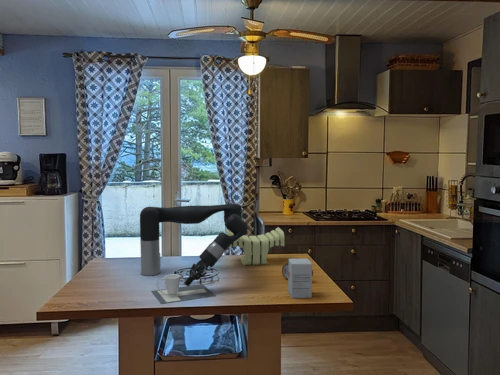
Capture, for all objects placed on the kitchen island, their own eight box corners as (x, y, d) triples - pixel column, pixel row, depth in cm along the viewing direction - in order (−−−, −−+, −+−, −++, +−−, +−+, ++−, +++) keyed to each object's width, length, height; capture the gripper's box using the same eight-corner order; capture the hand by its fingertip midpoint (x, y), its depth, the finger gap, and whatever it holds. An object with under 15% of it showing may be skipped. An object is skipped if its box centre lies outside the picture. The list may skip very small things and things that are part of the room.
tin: (313, 281, 220) (313, 264, 219) (311, 283, 217) (311, 265, 216) (283, 277, 226) (283, 260, 225) (281, 279, 223) (281, 262, 222)
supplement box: (287, 291, 204) (288, 258, 203) (307, 291, 205) (308, 258, 204) (291, 298, 195) (291, 263, 194) (312, 298, 196) (312, 263, 195)
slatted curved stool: (228, 267, 244) (228, 233, 242) (225, 259, 260) (225, 228, 258) (284, 265, 248) (284, 232, 247) (278, 258, 264) (278, 227, 262)
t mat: (202, 284, 214) (202, 284, 214) (216, 296, 198) (216, 295, 198) (150, 291, 204) (150, 290, 204) (161, 304, 188) (161, 303, 188)
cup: (179, 297, 196) (179, 278, 195) (155, 297, 196) (155, 278, 195) (181, 292, 203) (181, 274, 202) (159, 291, 203) (158, 273, 202)
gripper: (223, 262, 200) (196, 294, 196) (212, 256, 212) (187, 285, 208) (211, 251, 198) (184, 283, 194) (201, 245, 209) (175, 275, 206)
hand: (185, 284), depth 201 cm, fingers closed
